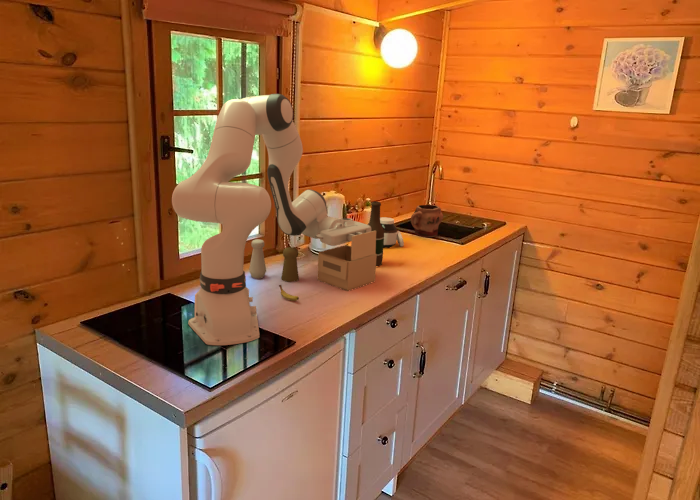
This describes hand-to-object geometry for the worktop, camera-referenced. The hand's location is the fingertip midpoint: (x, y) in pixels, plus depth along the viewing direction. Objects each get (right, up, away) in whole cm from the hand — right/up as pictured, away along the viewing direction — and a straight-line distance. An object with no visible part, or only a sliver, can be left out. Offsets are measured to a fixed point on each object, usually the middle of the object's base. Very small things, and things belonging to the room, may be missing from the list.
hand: (364, 239), depth 180 cm
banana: (-24, -19, -10) cm, 32 cm away
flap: (0, -2, +1) cm, 2 cm away
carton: (-6, -14, +9) cm, 18 cm away
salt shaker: (-36, -13, +8) cm, 40 cm away
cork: (-25, -14, +8) cm, 30 cm away
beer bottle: (+4, -9, +29) cm, 30 cm away
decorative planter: (+30, +3, +73) cm, 79 cm away
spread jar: (+12, -2, +54) cm, 55 cm away
